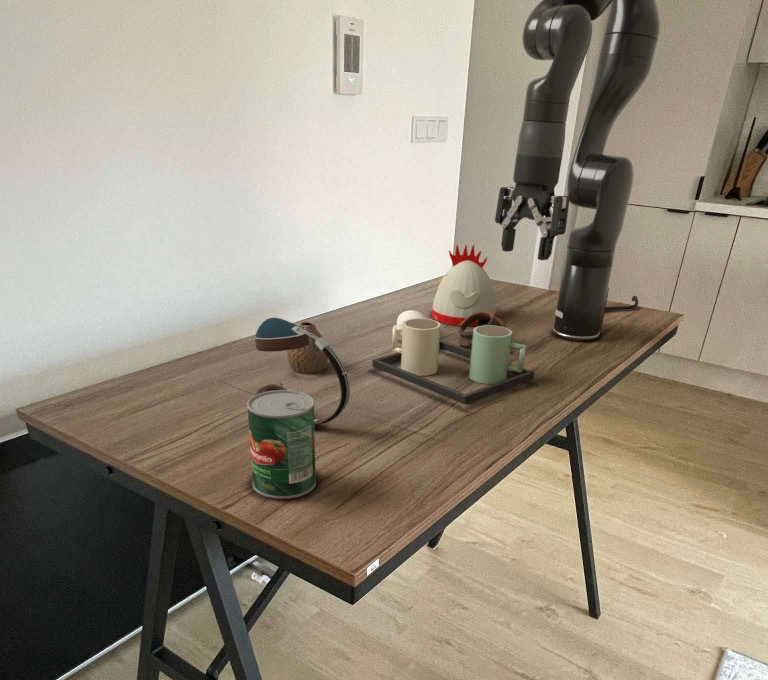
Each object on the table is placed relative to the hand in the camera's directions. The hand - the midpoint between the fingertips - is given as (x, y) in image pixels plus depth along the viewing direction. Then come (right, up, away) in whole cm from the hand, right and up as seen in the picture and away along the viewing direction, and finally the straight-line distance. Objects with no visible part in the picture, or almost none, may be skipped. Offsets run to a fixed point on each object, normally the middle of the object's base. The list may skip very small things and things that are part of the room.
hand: (524, 255), depth 125 cm
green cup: (-6, -23, -5) cm, 24 cm away
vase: (-38, -22, -3) cm, 44 cm away
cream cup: (-20, -20, -2) cm, 29 cm away
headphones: (-40, -32, -20) cm, 55 cm away
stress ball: (-19, -11, +15) cm, 27 cm away
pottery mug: (-6, -14, +12) cm, 19 cm away
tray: (-13, -22, -3) cm, 26 cm away
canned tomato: (-37, -42, -36) cm, 67 cm away
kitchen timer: (-8, -3, +30) cm, 31 cm away
